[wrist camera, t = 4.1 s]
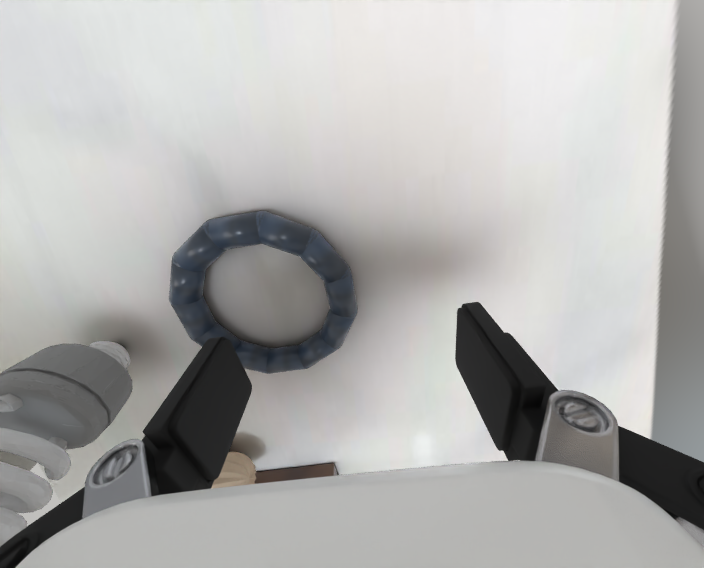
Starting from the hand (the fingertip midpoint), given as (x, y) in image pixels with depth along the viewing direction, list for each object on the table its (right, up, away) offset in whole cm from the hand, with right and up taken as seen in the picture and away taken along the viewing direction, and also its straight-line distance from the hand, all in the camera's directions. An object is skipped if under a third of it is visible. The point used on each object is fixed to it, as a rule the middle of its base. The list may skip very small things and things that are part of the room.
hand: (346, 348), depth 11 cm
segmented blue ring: (-5, +1, +5) cm, 7 cm away
